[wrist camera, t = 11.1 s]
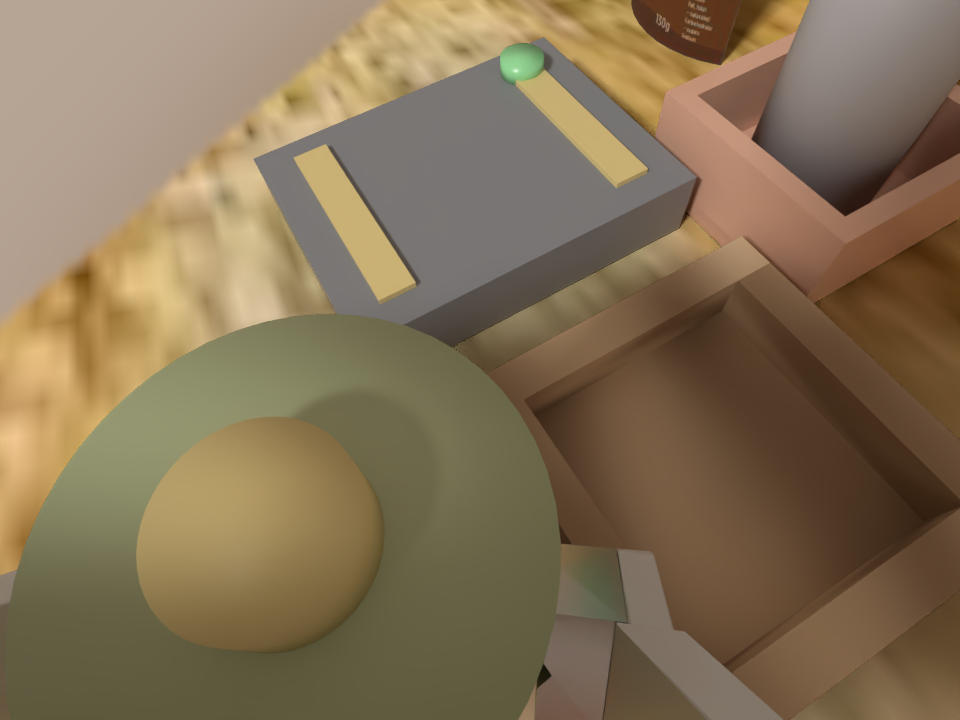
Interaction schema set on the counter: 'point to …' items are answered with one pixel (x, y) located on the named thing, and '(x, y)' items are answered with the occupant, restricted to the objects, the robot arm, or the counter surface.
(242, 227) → the counter surface
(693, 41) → the food container
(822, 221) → the pink square open box
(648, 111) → the counter surface
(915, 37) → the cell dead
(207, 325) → the counter surface
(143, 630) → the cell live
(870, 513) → the brown divided tray
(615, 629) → the robot arm
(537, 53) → the block
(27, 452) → the counter surface
